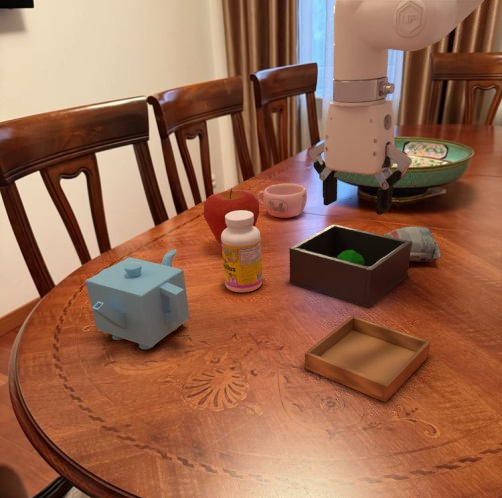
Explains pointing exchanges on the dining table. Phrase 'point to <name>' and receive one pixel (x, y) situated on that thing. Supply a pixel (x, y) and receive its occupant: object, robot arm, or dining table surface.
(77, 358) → the dining table surface
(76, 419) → the dining table surface
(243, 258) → the supplement bottle
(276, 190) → the mug
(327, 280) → the dark brown open box
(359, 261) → the polyhedron
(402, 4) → the robot arm
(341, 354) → the tray
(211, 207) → the apple
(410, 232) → the packaged food
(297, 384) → the dining table surface
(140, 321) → the teapot
